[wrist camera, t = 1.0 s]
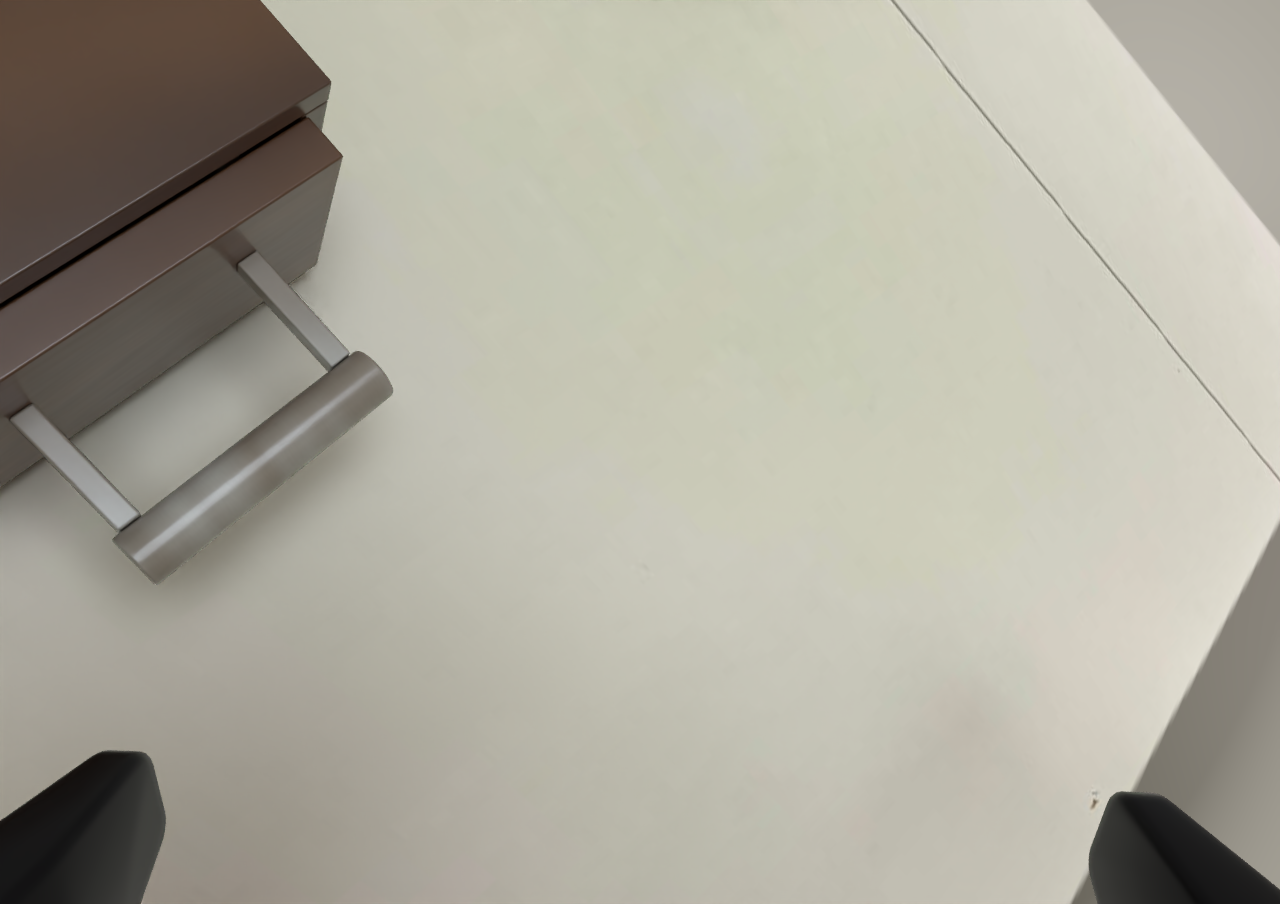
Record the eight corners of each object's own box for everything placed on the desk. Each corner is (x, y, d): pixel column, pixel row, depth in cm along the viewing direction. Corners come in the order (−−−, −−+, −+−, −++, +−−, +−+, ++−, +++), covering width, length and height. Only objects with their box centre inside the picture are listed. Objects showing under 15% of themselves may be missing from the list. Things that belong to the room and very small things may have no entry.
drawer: (425, 384, 29) (480, 309, 23) (90, 659, 25) (50, 656, 19) (-20, -109, 27) (-89, -334, 21) (-481, 88, 23) (-742, -129, 16)
